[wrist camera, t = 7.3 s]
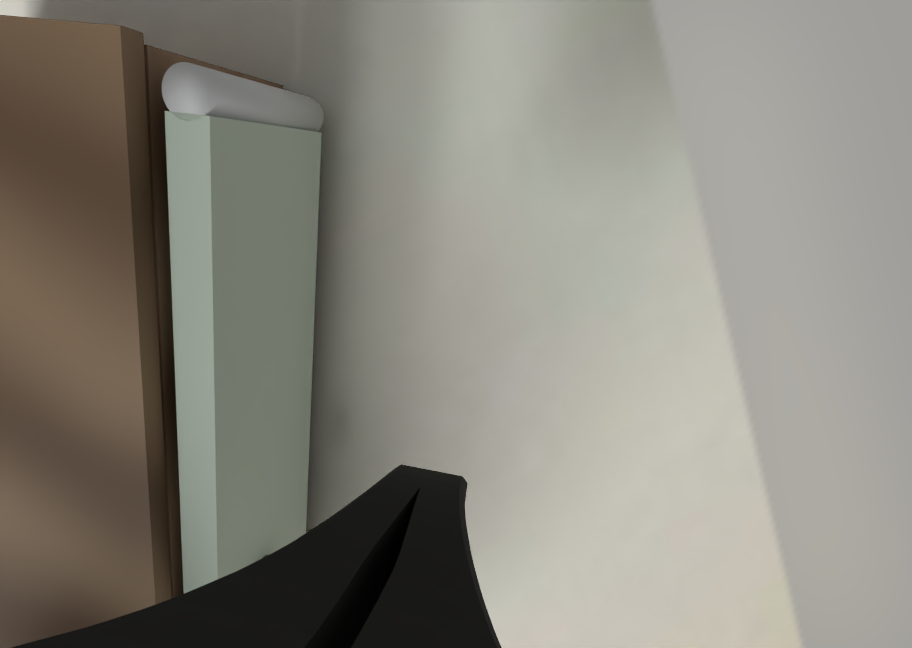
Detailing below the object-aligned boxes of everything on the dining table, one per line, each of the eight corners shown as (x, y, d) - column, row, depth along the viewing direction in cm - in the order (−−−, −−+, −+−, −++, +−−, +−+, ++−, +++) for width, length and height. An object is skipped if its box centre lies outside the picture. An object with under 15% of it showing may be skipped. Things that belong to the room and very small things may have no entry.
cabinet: (274, 583, 22) (164, 745, 16) (72, 536, 23) (-102, 668, 17) (282, 78, 16) (120, 25, 10) (19, 51, 18) (-265, -9, 12)
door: (288, 94, 16) (160, 60, 11) (350, 100, 16) (248, 68, 11) (278, 552, 21) (185, 680, 16) (326, 563, 21) (247, 697, 15)
